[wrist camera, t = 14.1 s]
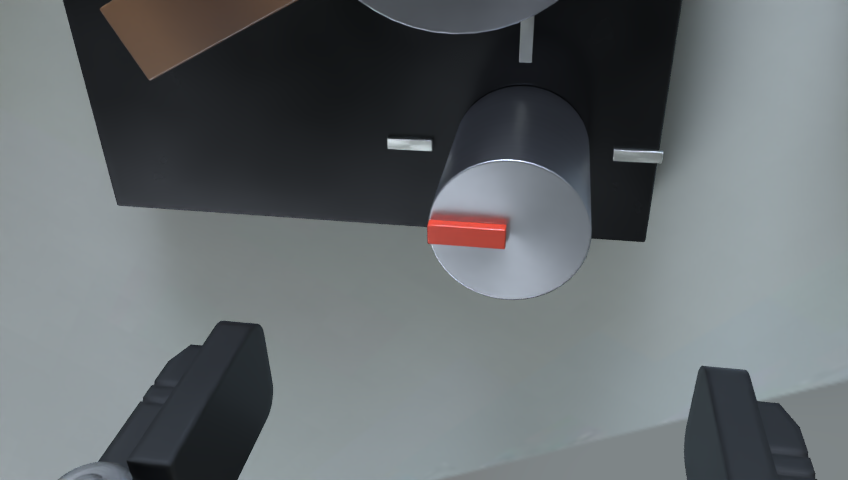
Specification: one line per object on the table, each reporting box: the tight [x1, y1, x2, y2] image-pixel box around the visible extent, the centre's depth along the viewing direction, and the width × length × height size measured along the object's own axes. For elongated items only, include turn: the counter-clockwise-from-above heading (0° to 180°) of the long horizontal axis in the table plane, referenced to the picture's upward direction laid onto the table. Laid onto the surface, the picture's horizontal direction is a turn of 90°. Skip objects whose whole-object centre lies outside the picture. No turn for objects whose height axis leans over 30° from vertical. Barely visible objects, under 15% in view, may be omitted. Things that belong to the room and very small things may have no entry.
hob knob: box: [427, 86, 592, 300], centre depth 20 cm, size 4×4×5 cm
